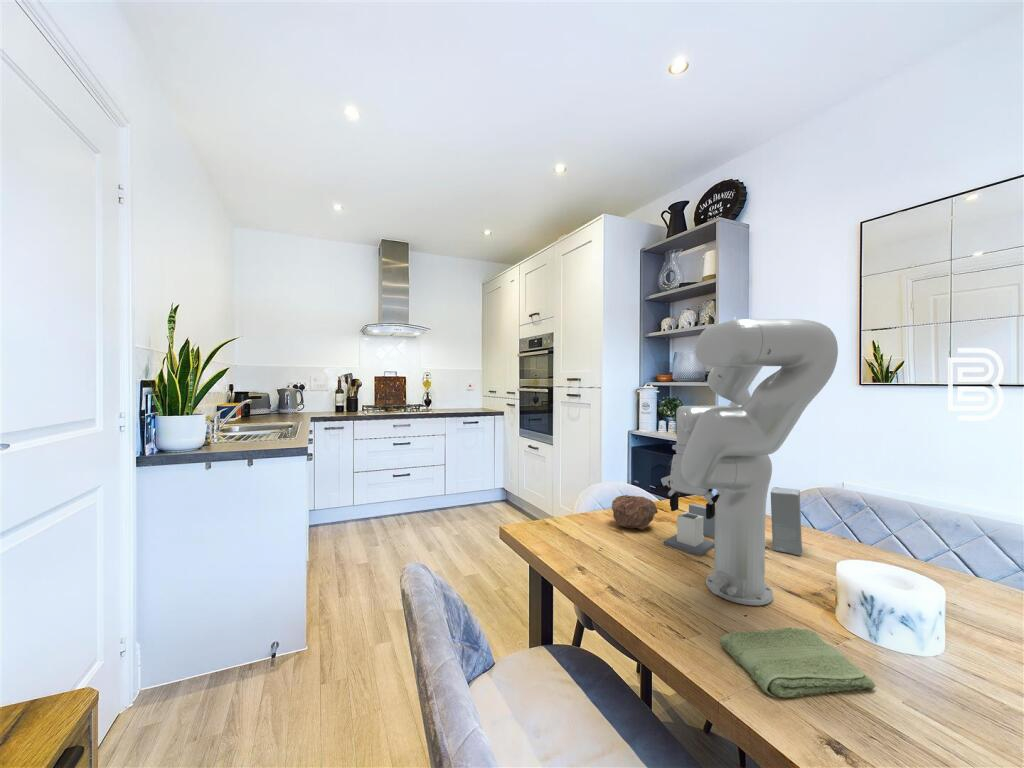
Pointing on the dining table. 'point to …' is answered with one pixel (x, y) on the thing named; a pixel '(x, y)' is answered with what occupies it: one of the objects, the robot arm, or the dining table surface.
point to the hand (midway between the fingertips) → (691, 514)
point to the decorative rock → (633, 511)
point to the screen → (704, 519)
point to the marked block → (690, 529)
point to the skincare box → (786, 520)
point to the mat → (697, 550)
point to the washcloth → (794, 662)
